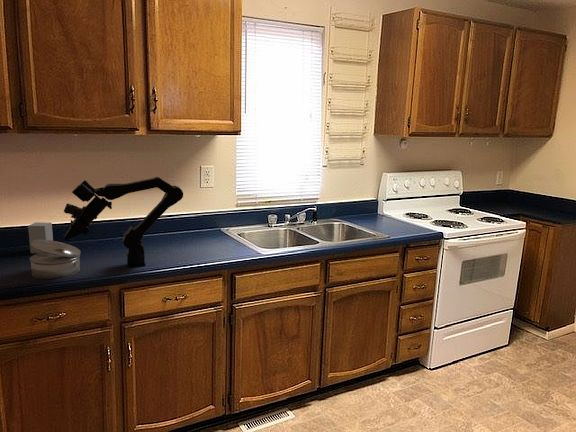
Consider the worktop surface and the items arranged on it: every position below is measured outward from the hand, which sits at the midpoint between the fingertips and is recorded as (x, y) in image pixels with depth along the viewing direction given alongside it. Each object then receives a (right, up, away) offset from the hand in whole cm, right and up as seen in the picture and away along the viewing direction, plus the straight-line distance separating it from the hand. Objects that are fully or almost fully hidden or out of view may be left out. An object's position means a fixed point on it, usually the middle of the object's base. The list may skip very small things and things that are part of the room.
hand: (64, 239), depth 185 cm
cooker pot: (-5, -12, +4) cm, 14 cm away
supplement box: (-23, -7, +28) cm, 37 cm away
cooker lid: (-3, -4, -1) cm, 5 cm away
